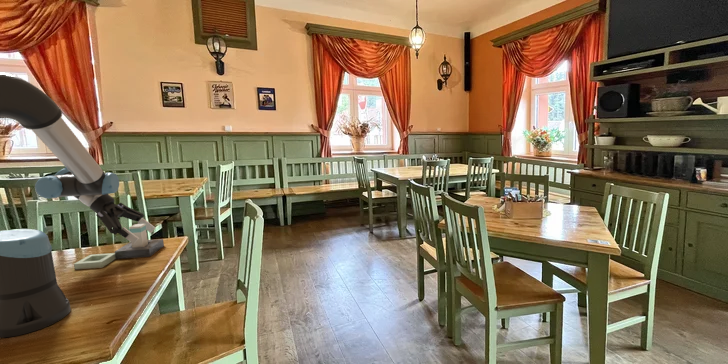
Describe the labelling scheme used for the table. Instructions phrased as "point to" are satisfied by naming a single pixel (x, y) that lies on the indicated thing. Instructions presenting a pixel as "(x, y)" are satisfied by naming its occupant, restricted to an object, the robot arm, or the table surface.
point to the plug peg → (139, 235)
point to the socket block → (139, 250)
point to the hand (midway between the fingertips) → (145, 235)
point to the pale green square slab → (95, 261)
